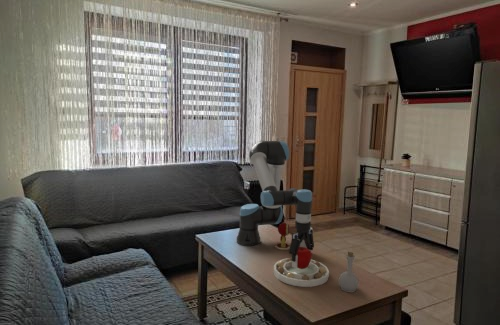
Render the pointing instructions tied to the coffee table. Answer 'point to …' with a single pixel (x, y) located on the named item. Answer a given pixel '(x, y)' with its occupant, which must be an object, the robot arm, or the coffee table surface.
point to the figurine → (283, 236)
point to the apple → (303, 257)
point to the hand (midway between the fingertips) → (301, 264)
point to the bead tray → (301, 273)
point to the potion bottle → (348, 276)
